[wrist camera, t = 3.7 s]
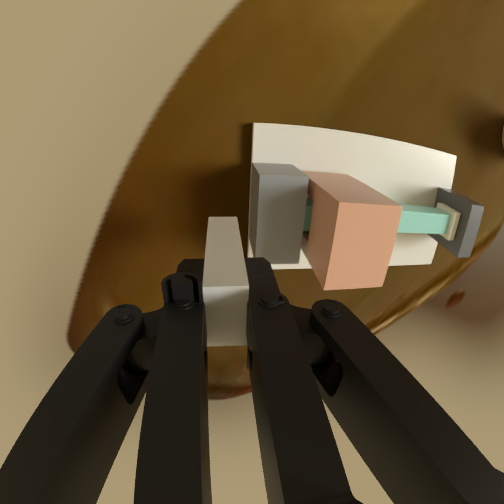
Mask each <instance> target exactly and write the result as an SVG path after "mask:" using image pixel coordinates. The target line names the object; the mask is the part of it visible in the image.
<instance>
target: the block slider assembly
mask: <svg viewBox="0 0 504 504" xmlns="http://www.w3.org/2000/svg"><path fill="white" fill-rule="evenodd" d="M456 157H457V156H455V155H452V154H448V153H445V152H441V151H438V150H434V149H430V148H426V147H423V146H419V145H414V144H410V143H406V142H402V141H397V140H392V139H387V138H382V137H377V136H372V135H366V134H360V133H354V132H348V131H341V130H334V129H326V128H318V127H309V126H298V125H286V124H272V123H253V128H252V151H251V175H250V200H249V225H248V251H247V258H249V257H264V258H265V259H266V260H267V261H269V262H270V264H271V267H272V269H301V268H312V267H311V266H310V264H309V262H308V260H307V258H306V257H305V255H304V253H303V251H302V249H301V244H302V236H303V231H309V230H310V222H311V214H312V206H313V199H312V198H307V191H308V182H309V176H307V175H306V174H305V173H303V172H302V171H314V172H328V173H339V174H348V175H350V176H352V177H353V178H355V179H357V180H359V181H361V182H362V183H364V184H366V185H368V186H369V187H371V188H373V189H375V190H376V191H378V192H380V193H382V194H383V195H385V196H387V197H388V198H390V199H392V200H393V201H395V202H396V203H398V204H400V205H401V206H403V209H402V213H401V218H400V222H399V227H398V231H397V235H396V239H395V243H394V247H393V251H392V255H391V258H390V262H389V265H388V266H396V265H419V264H431V262H432V259H433V256H434V253H435V250H436V247H437V243H439V244H441V245H442V246H443V247H445V248H446V249H447V250H448V251H450V252H451V253H452V254H453V255H455V256H456V257H457V258H458V257H470V254H471V251H472V248H473V245H474V242H475V239H476V236H477V232H478V229H479V225H480V222H481V218H482V214H483V210H484V206H482V205H480V204H479V203H477V202H475V201H473V200H471V199H469V198H467V197H465V196H463V195H461V194H459V193H457V192H455V191H453V190H451V186H452V181H453V176H454V170H455V164H456Z"/></svg>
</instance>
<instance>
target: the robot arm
mask: <svg viewBox="0 0 504 504" xmlns="http://www.w3.org/2000/svg"><path fill="white" fill-rule="evenodd" d="M161 285H162V292H163V298H164V307H163V308H161V309H159V310H156V311H153V312H148V313H143V314H142V312H141V310H140V309H139V308H138V307H137V306H134V305H131V304H123V305H118V306H116V307H114V308H112V309H110V310H109V311H108V312H107V313H106V314H105V316H104V317H103V318H102V319H101V321H100V322H99V323H98V324H97V326H96V327H95V328H94V329H93V331H92V332H91V333H90V335H89V336H88V337H87V338H86V340H85V341H84V342H83V344H82V345H81V346H80V348H79V349H78V350H77V352H76V353H75V354H74V356H73V357H72V358H71V360H70V361H69V362H68V364H67V365H66V367H65V368H64V369H63V371H62V372H61V374H60V375H59V376H58V378H57V379H56V380H55V382H54V383H53V385H52V386H51V388H50V389H49V391H48V392H47V393H46V395H45V396H44V398H43V399H42V401H41V402H40V404H39V406H38V407H37V409H36V410H35V412H34V413H33V415H32V416H31V418H30V419H29V421H28V423H27V424H26V426H25V427H24V429H23V431H22V432H21V434H20V436H19V437H18V439H17V441H16V442H15V444H14V446H13V447H12V449H11V451H10V453H9V454H8V456H7V458H6V460H5V462H4V464H3V465H2V467H1V469H0V504H96V503H97V500H98V498H99V495H100V493H101V491H102V488H103V486H104V483H105V481H106V479H107V476H108V474H109V472H110V469H111V467H112V465H113V463H114V460H115V458H116V456H117V454H118V451H119V449H120V447H121V445H122V442H123V440H124V438H125V436H126V434H127V431H128V429H129V427H130V425H131V423H132V421H133V418H134V416H135V414H136V412H137V409H138V408H139V406H140V403H141V401H142V399H143V397H144V395H145V393H146V398H145V405H144V411H143V418H142V426H141V432H140V440H139V449H138V458H137V467H136V478H135V491H134V504H212V495H211V478H210V457H209V431H208V430H209V428H208V354H207V346H241V345H247V344H248V350H247V369H248V368H249V373H250V380H251V388H252V395H253V403H254V410H255V417H256V424H257V431H258V439H259V445H260V452H261V459H262V466H263V472H264V478H265V486H266V491H267V498H268V504H363V503H361V502H360V501H358V500H356V499H355V498H354V496H353V495H352V492H351V490H350V486H349V483H348V480H347V477H346V474H345V470H344V467H343V464H342V460H341V457H340V454H339V451H338V448H337V445H336V441H335V438H334V435H333V432H332V429H331V426H330V423H329V420H328V417H327V414H326V410H325V407H324V404H323V401H324V402H325V404H326V405H327V407H328V408H329V410H330V411H331V413H332V414H333V416H334V417H335V419H336V420H337V422H338V423H339V425H340V426H341V428H342V429H343V431H344V432H345V434H346V435H347V437H348V438H349V440H350V441H351V443H352V444H353V446H354V447H355V449H356V450H357V451H358V453H359V454H360V456H361V457H362V459H363V460H364V462H365V463H366V465H367V466H368V467H369V469H370V470H371V472H372V473H373V475H374V476H375V477H376V479H377V480H378V482H379V483H380V485H381V486H382V487H383V489H384V490H385V491H386V493H387V495H388V496H389V497H390V499H391V500H392V502H393V503H394V504H504V473H503V472H501V471H499V470H497V469H495V468H494V467H493V466H492V465H491V464H490V462H489V461H488V460H487V459H486V458H485V456H484V455H483V454H482V453H481V452H480V451H479V450H478V448H477V447H476V446H475V445H474V444H473V442H472V441H471V440H470V439H469V438H468V437H467V436H466V434H465V433H464V432H463V431H462V430H461V429H460V427H459V426H458V425H457V424H456V423H455V422H454V421H453V419H452V418H451V417H450V416H449V415H448V414H447V413H446V412H445V411H444V409H443V408H442V407H441V406H440V405H439V404H438V403H437V402H436V401H435V399H434V398H433V397H432V396H431V395H430V394H429V393H428V392H427V391H426V390H425V389H424V387H423V386H422V385H421V384H420V383H419V382H418V381H417V380H416V379H415V378H414V377H413V375H412V374H411V373H410V372H409V371H408V370H407V369H406V368H405V367H404V366H403V365H402V364H401V363H400V362H399V361H398V359H397V358H396V357H395V356H394V355H393V354H392V353H391V352H390V351H389V350H388V349H387V348H386V347H385V346H384V345H383V344H382V343H381V342H380V341H379V339H377V337H376V336H375V335H374V334H373V333H372V332H371V331H370V330H369V329H368V328H367V327H366V326H365V325H364V324H363V323H362V322H361V321H360V320H359V319H358V318H357V317H356V316H355V315H354V314H353V313H352V312H351V311H350V310H349V309H348V308H347V307H346V306H345V305H344V304H342V303H340V302H338V301H335V300H329V299H325V300H319V301H317V302H315V303H314V304H313V306H312V309H306V308H300V307H296V306H293V305H291V304H289V301H288V299H287V298H286V297H285V296H284V295H282V294H281V293H280V291H279V288H278V285H277V282H276V279H275V276H274V273H273V271H272V267H271V264H270V262H269V261H267V260H266V259H265V258H264V257H249V258H244V254H243V249H242V243H241V237H240V231H239V225H238V219H237V217H209V219H208V229H207V239H206V250H205V259H184V260H183V261H182V262H181V263H180V264H179V265H178V268H177V273H174V274H171V275H168V276H167V277H165V278H164V279H163V281H162V282H161ZM146 391H147V392H146ZM322 399H323V401H322Z"/></svg>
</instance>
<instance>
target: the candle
mask: <svg viewBox="0 0 504 504" xmlns="http://www.w3.org/2000/svg"><path fill="white" fill-rule="evenodd" d="M502 144H503V149H504V126H503V131H502Z"/></svg>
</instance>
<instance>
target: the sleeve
mask: <svg viewBox="0 0 504 504" xmlns="http://www.w3.org/2000/svg"><path fill="white" fill-rule="evenodd" d="M302 172H303V173H305V174H306V175H307V176H309V182H308V191H307V198H312V199H313V206H312V214H311V222H310V230H309V231H303V236H302V244H301V249H302V251H303V253H304V255H305V257H306V258H307V260H308V262H309V264H310V266H311V267H312V269H313V271H314V273H315V275H316V277H317V279H318V280H319V282H320V284H321V286H322V288H323V290H338V289H354V288H369V287H382V285H383V282H384V279H385V276H386V272H387V269H388V265H389V262H390V258H391V255H392V251H393V247H394V243H395V239H396V235H397V231H398V227H399V222H400V218H401V213H402V209H403V206H401V205H400V204H398V203H396V202H395V201H393V200H392V199H390V198H388V197H387V196H385V195H383V194H382V193H380V192H378V191H376V190H375V189H373V188H371V187H369V186H368V185H366V184H364V183H362V182H361V181H359V180H357V179H355V178H353V177H352V176H350V175H348V174H339V173H328V172H314V171H302Z"/></svg>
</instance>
